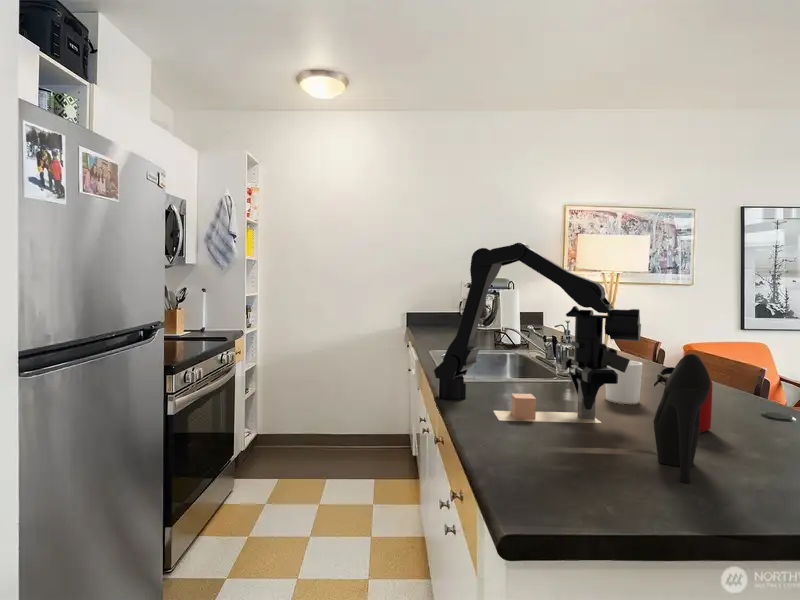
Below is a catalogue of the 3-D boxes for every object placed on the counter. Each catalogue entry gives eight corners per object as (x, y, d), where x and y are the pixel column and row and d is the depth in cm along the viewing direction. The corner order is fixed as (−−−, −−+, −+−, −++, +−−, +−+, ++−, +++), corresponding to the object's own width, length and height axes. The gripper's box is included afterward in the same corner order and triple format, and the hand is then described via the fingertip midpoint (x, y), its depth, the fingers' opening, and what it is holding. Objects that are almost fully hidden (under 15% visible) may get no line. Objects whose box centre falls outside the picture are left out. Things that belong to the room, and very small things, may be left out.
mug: (649, 404, 125) (650, 364, 125) (620, 406, 123) (621, 365, 122) (618, 394, 136) (619, 357, 136) (591, 396, 133) (592, 358, 133)
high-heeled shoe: (688, 450, 90) (693, 343, 90) (718, 492, 72) (724, 358, 72) (641, 445, 93) (645, 341, 92) (658, 484, 75) (663, 354, 74)
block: (514, 418, 107) (515, 398, 107) (510, 412, 112) (511, 393, 111) (535, 418, 107) (536, 398, 107) (530, 413, 111) (531, 393, 111)
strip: (498, 424, 106) (499, 388, 105) (493, 413, 114) (493, 380, 113) (601, 426, 105) (603, 390, 105) (588, 416, 113) (589, 382, 113)
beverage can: (708, 427, 106) (710, 372, 105) (713, 435, 100) (715, 377, 99) (672, 422, 109) (674, 369, 108) (675, 430, 103) (677, 374, 102)
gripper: (645, 343, 99) (642, 420, 99) (608, 334, 117) (606, 398, 118) (589, 342, 99) (587, 419, 100) (561, 333, 118) (560, 397, 118)
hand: (586, 407), depth 109 cm, fingers closed on strip, 2 cm apart
